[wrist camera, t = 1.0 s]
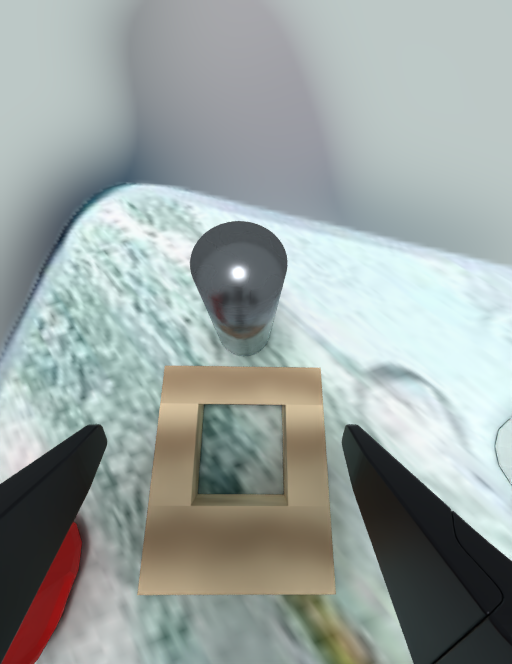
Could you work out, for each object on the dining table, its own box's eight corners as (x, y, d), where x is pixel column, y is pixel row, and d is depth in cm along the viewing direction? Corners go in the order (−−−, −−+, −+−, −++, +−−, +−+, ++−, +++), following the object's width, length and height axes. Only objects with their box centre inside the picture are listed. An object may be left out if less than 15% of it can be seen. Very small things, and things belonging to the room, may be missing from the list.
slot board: (324, 570, 19) (335, 594, 16) (151, 570, 18) (137, 594, 16) (313, 372, 23) (320, 367, 21) (173, 370, 23) (164, 365, 20)
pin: (276, 347, 24) (300, 291, 12) (225, 362, 23) (202, 317, 12) (261, 301, 25) (270, 212, 14) (213, 314, 25) (181, 232, 13)
